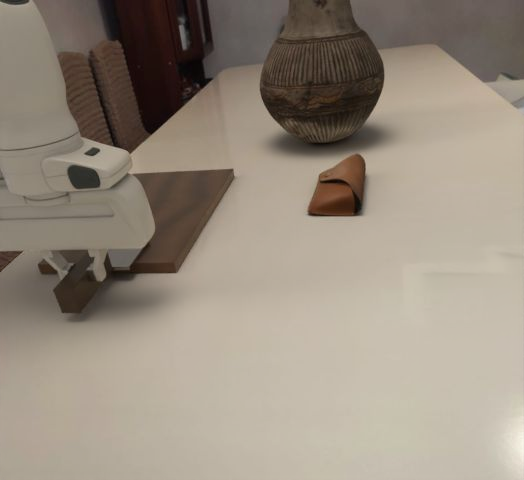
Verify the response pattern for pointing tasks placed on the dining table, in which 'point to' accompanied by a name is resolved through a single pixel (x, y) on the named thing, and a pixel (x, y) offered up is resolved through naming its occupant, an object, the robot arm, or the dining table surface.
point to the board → (170, 217)
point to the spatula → (81, 288)
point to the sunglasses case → (340, 189)
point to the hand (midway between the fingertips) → (84, 279)
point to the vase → (321, 72)
